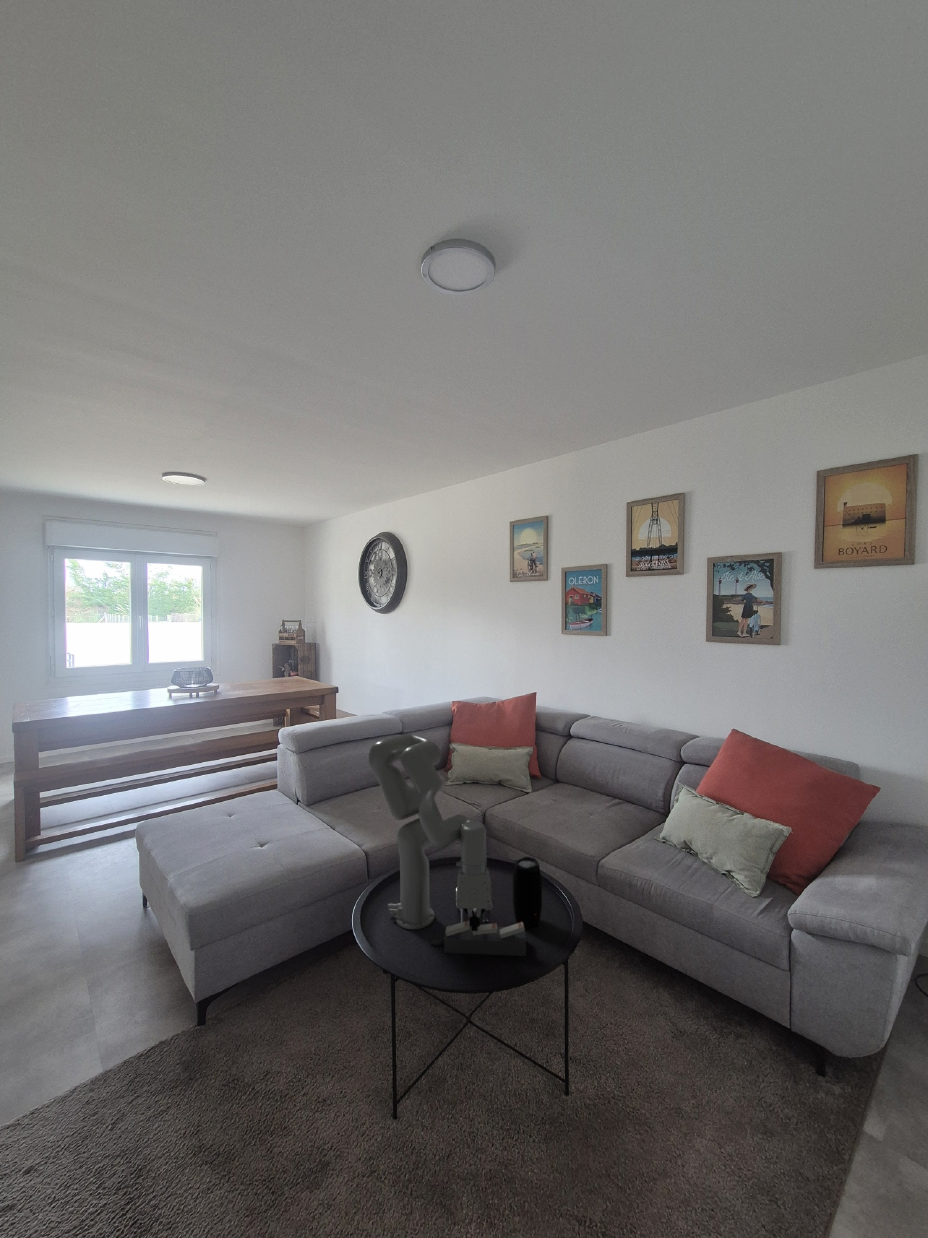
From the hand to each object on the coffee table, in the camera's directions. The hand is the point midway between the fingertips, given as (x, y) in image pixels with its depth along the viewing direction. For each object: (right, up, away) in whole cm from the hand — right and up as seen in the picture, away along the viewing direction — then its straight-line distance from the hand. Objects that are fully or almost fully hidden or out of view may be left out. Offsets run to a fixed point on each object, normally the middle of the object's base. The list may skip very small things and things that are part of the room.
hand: (474, 928), depth 148 cm
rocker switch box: (+1, -7, +2) cm, 7 cm away
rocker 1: (-5, 0, +1) cm, 5 cm away
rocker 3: (+11, 0, -1) cm, 11 cm away
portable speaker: (+17, -7, +14) cm, 23 cm away
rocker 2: (+3, 0, 0) cm, 3 cm away
